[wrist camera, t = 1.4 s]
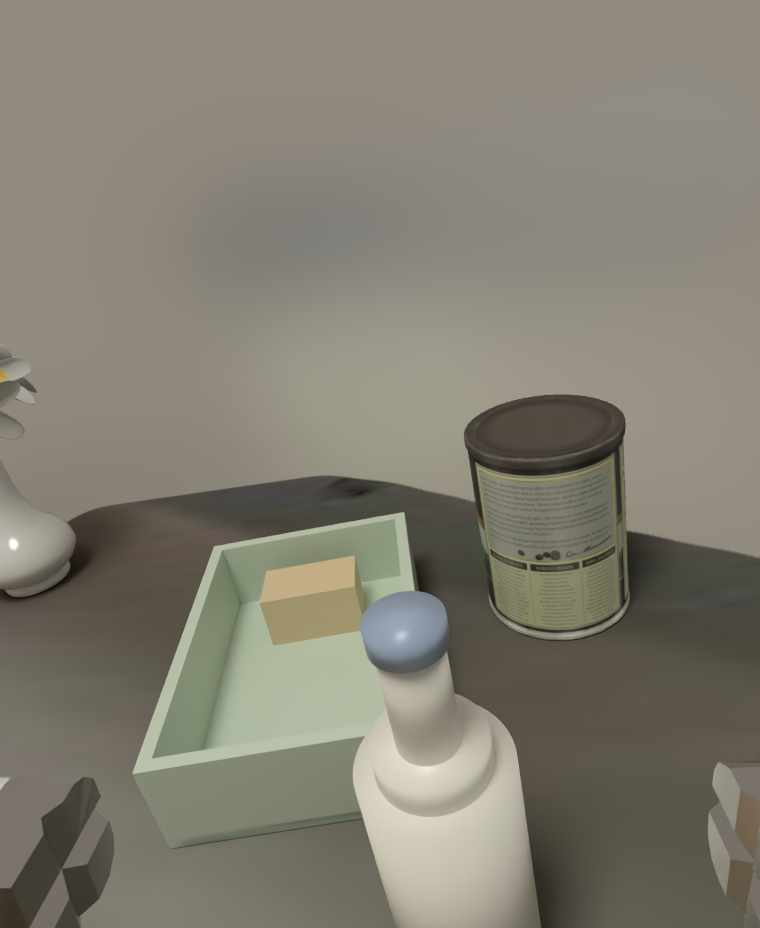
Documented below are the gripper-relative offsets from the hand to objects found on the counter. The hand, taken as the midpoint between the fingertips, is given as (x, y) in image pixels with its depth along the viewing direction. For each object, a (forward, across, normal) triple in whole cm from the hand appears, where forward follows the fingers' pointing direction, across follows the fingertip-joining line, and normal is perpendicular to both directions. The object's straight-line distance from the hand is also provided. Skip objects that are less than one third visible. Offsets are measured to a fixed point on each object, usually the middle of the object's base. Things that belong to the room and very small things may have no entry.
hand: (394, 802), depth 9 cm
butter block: (+36, +9, +22) cm, 43 cm away
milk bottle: (+13, -1, +24) cm, 27 cm away
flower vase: (+48, +39, +24) cm, 67 cm away
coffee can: (+36, -9, +21) cm, 43 cm away
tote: (+30, +9, +23) cm, 39 cm away
